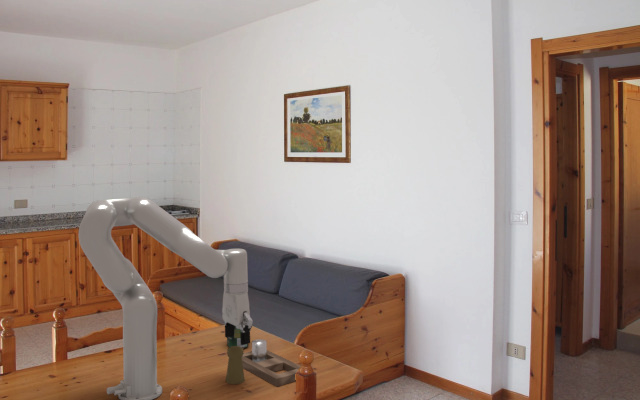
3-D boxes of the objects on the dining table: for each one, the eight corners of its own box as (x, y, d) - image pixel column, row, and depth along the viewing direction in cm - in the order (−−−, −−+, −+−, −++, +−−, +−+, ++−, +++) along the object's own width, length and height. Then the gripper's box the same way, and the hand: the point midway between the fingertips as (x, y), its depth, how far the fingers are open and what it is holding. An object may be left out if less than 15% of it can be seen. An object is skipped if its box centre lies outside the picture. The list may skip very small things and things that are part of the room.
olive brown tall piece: (240, 385, 172) (241, 350, 172) (222, 383, 174) (222, 349, 173) (247, 377, 178) (247, 344, 178) (229, 376, 180) (229, 343, 179)
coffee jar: (224, 342, 213) (224, 295, 212) (244, 340, 216) (245, 294, 215) (229, 350, 204) (229, 301, 203) (250, 348, 207) (250, 300, 205)
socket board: (276, 386, 171) (276, 378, 171) (233, 362, 192) (233, 355, 192) (308, 377, 179) (308, 369, 179) (263, 355, 200) (263, 348, 200)
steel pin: (257, 367, 187) (257, 344, 187) (249, 363, 191) (249, 341, 191) (269, 364, 190) (269, 342, 190) (261, 360, 194) (261, 338, 194)
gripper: (212, 285, 179) (213, 336, 180) (239, 294, 165) (241, 349, 166) (232, 281, 183) (233, 331, 185) (260, 290, 170) (262, 344, 171)
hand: (237, 340), depth 175 cm, fingers open, 9 cm apart
